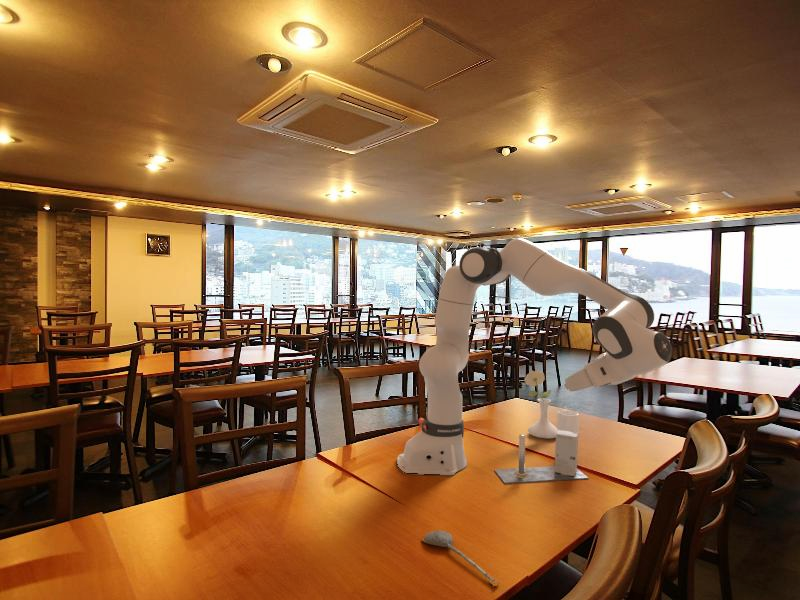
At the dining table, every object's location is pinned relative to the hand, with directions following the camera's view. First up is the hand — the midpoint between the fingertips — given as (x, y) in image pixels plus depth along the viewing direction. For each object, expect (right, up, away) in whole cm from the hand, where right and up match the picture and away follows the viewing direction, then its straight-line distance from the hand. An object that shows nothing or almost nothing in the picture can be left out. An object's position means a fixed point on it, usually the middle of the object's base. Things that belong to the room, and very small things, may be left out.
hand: (577, 382), depth 132 cm
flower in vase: (+2, -28, +39) cm, 48 cm away
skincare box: (-1, -29, +6) cm, 29 cm away
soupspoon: (-40, -32, -35) cm, 62 cm away
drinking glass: (+4, -29, +19) cm, 34 cm away
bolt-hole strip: (-9, -29, +5) cm, 31 cm away
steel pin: (-15, -29, +4) cm, 33 cm away
